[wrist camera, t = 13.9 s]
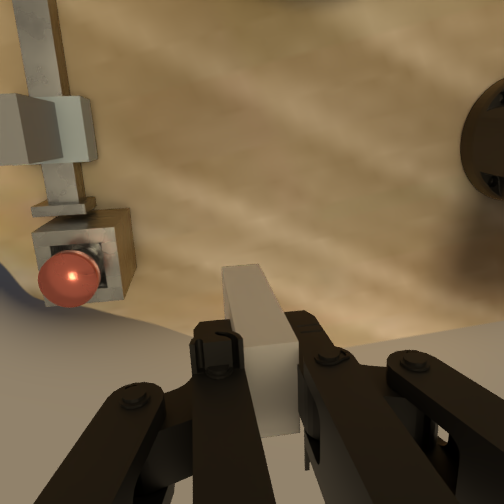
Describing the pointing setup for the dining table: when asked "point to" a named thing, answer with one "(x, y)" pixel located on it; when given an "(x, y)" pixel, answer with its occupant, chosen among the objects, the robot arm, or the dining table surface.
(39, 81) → the rail
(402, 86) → the dining table surface
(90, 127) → the carriage
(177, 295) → the dining table surface
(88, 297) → the plunger
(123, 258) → the grey square housing
